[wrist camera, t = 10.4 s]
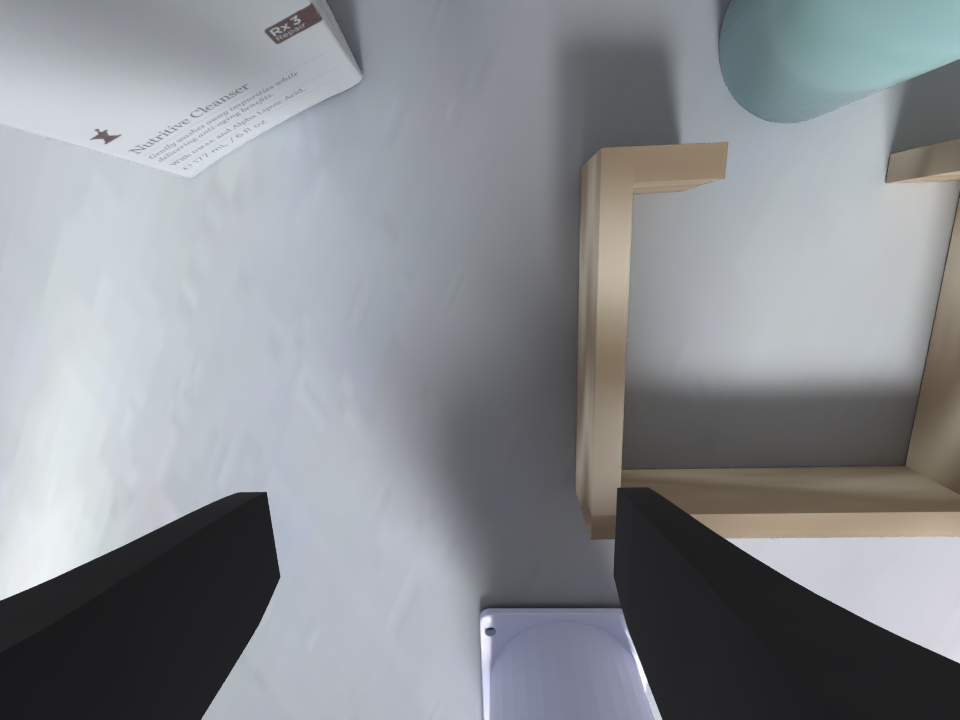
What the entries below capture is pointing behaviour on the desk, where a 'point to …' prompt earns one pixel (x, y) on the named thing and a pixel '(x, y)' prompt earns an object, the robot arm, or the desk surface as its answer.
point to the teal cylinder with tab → (830, 51)
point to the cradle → (753, 491)
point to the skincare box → (166, 73)
